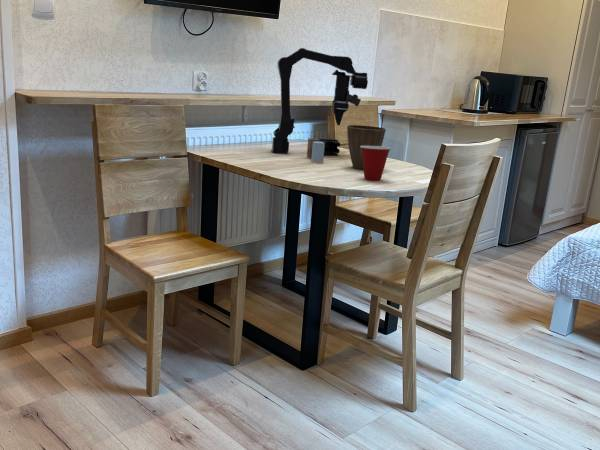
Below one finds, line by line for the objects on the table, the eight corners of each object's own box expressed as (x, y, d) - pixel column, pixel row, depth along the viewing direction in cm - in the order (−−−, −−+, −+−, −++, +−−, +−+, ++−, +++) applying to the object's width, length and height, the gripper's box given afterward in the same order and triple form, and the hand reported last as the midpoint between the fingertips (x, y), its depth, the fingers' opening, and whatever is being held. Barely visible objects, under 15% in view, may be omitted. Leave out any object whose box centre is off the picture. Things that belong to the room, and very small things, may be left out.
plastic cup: (378, 176, 218) (382, 143, 214) (392, 182, 208) (396, 148, 205) (352, 176, 214) (355, 142, 211) (365, 182, 204) (368, 147, 201)
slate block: (313, 162, 236) (314, 142, 234) (311, 161, 240) (312, 141, 238) (323, 163, 237) (324, 143, 235) (320, 161, 241) (322, 141, 238)
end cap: (334, 153, 265) (335, 138, 263) (340, 156, 258) (341, 141, 256) (313, 153, 262) (314, 137, 260) (318, 155, 255) (319, 140, 253)
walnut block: (308, 159, 244) (310, 139, 242) (306, 157, 248) (308, 138, 246) (318, 159, 245) (319, 140, 243) (316, 157, 249) (317, 138, 247)
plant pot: (337, 164, 236) (340, 124, 232) (370, 164, 241) (374, 125, 237) (353, 171, 223) (357, 129, 219) (388, 172, 228) (393, 130, 224)
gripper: (362, 89, 242) (358, 128, 246) (359, 88, 260) (355, 123, 264) (335, 87, 242) (331, 125, 246) (334, 85, 260) (330, 121, 264)
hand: (337, 124), depth 255 cm, fingers open, 9 cm apart
